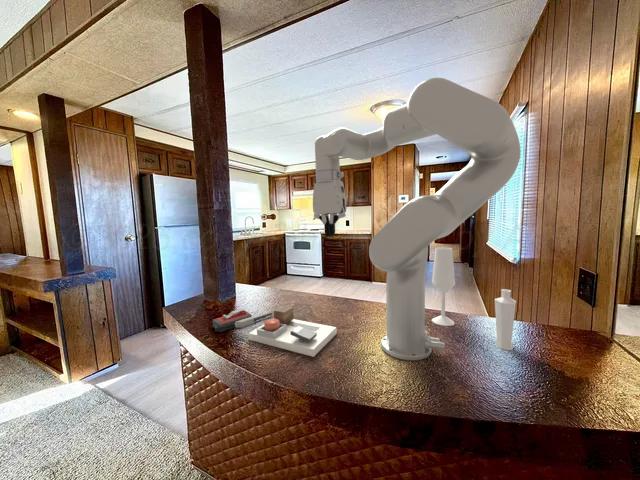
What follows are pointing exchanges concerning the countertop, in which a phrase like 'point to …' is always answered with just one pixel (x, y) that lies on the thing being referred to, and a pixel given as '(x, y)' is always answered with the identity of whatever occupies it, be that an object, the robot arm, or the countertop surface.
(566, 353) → the countertop surface
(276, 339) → the control panel
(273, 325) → the push button
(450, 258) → the champagne flute
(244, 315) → the gray red lever tool
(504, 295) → the perfume bottle
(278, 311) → the slider knob
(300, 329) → the rocker switch
